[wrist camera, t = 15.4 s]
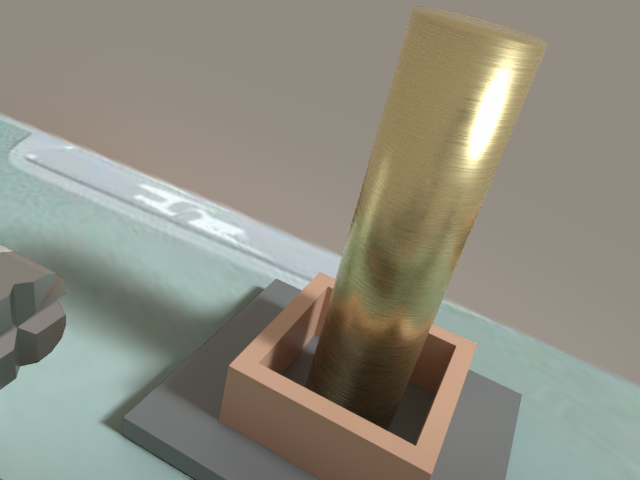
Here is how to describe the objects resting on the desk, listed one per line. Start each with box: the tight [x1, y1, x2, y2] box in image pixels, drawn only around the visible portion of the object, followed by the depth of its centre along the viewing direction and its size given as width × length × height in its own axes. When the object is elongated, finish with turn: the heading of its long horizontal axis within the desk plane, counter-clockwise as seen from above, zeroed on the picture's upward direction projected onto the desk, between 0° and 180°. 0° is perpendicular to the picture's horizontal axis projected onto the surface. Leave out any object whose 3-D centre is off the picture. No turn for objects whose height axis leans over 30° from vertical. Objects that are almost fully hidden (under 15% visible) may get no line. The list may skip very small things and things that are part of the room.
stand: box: [122, 272, 522, 480], centre depth 24 cm, size 14×12×4 cm
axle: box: [305, 6, 548, 431], centre depth 20 cm, size 4×4×16 cm
